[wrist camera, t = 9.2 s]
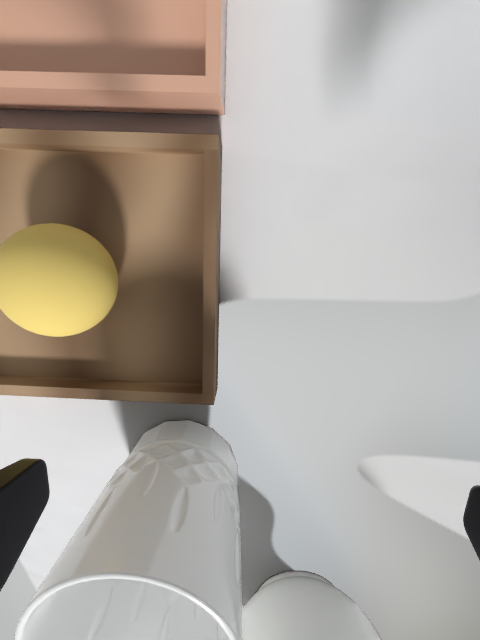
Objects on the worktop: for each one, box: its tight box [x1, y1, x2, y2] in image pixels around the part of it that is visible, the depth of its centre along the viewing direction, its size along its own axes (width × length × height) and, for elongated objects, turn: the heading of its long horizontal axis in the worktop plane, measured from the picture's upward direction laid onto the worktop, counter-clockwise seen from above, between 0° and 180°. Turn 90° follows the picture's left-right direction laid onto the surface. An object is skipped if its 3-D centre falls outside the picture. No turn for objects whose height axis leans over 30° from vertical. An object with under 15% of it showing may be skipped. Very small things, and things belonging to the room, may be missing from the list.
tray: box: [0, 128, 222, 405], centre depth 17 cm, size 14×13×2 cm
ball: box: [0, 223, 118, 337], centre depth 15 cm, size 5×5×5 cm
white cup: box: [14, 420, 242, 640], centre depth 16 cm, size 8×8×10 cm
